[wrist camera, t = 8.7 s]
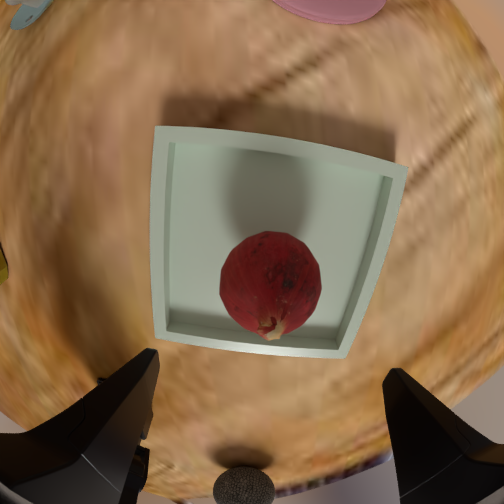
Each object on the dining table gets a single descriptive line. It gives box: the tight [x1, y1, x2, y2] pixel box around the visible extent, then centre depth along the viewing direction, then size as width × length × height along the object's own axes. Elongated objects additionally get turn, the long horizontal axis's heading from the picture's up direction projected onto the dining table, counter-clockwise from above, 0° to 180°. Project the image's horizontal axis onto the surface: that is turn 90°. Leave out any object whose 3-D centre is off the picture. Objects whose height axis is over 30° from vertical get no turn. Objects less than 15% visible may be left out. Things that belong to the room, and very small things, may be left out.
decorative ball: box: [213, 467, 275, 504], centre depth 31 cm, size 10×10×10 cm
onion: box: [219, 231, 322, 341], centre depth 15 cm, size 6×6×8 cm
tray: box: [150, 126, 408, 359], centre depth 19 cm, size 16×16×2 cm
